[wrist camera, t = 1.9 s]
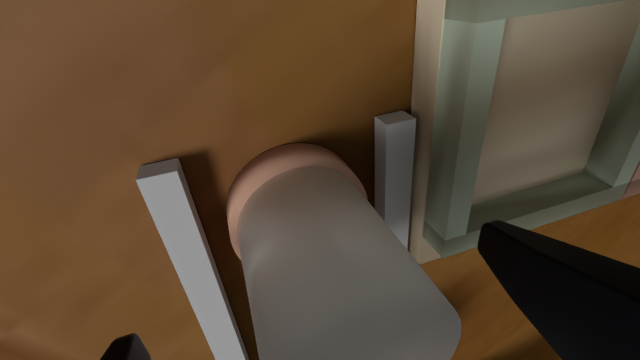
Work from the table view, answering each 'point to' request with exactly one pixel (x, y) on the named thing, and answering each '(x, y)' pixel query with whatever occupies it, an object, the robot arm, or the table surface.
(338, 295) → the terracotta-banded sleeve
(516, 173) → the board
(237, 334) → the feeder lane
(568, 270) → the robot arm
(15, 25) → the table surface
